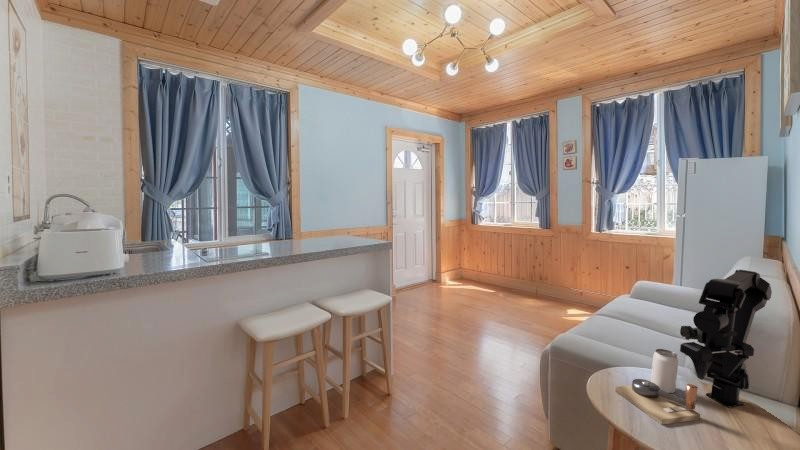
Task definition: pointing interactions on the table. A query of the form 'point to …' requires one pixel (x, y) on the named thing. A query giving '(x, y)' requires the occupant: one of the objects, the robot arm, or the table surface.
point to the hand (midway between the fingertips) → (713, 377)
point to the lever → (654, 391)
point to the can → (664, 370)
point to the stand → (658, 407)
